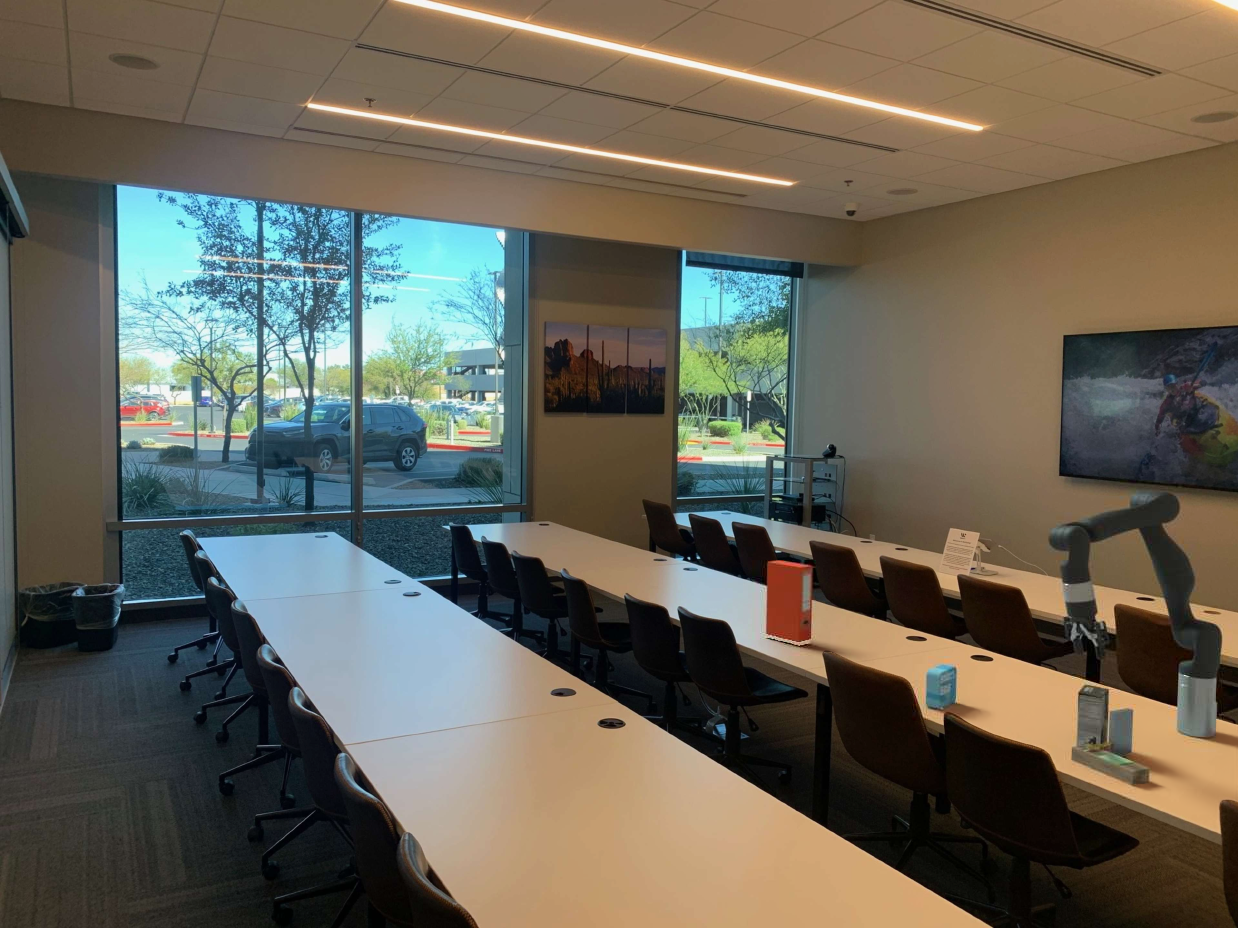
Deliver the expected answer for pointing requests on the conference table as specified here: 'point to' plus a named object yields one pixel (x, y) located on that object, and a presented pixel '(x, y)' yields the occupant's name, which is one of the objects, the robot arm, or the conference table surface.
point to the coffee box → (1092, 716)
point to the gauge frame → (1110, 764)
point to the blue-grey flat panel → (1119, 732)
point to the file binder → (789, 600)
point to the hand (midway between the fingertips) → (1090, 656)
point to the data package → (941, 686)
